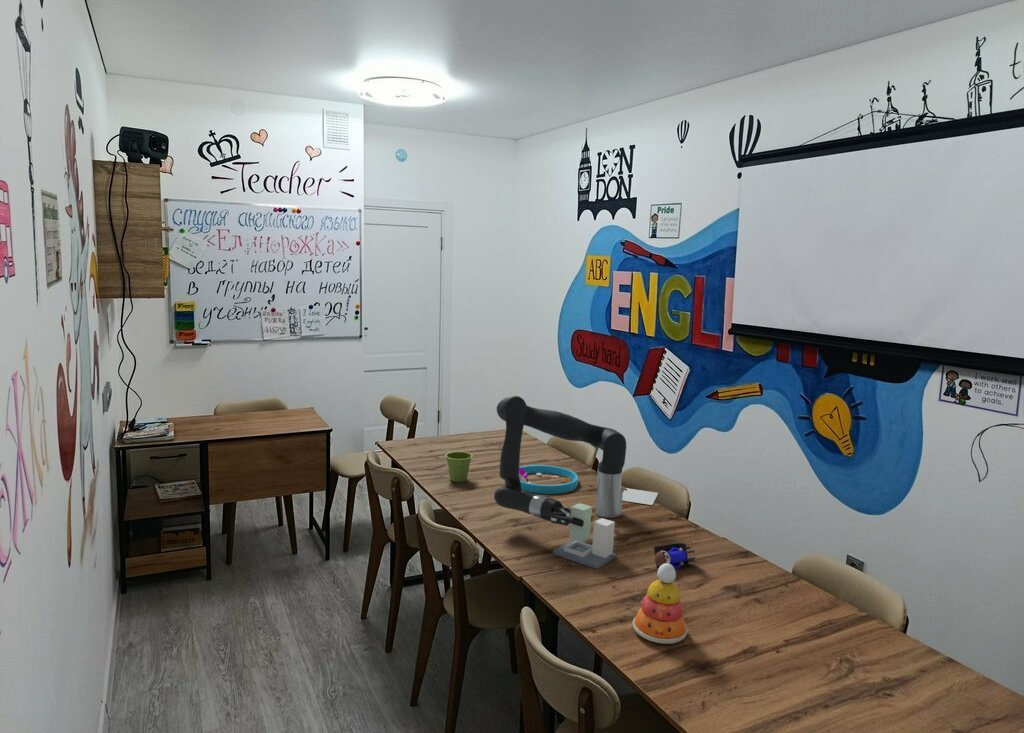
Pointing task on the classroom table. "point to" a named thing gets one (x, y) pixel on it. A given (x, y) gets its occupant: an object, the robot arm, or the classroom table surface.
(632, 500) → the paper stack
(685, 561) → the character figurine
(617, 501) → the robot arm
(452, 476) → the plant pot
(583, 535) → the sage pillar
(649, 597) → the stacking toy
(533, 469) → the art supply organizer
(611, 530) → the standing pillar
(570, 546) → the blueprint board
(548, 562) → the classroom table surface
